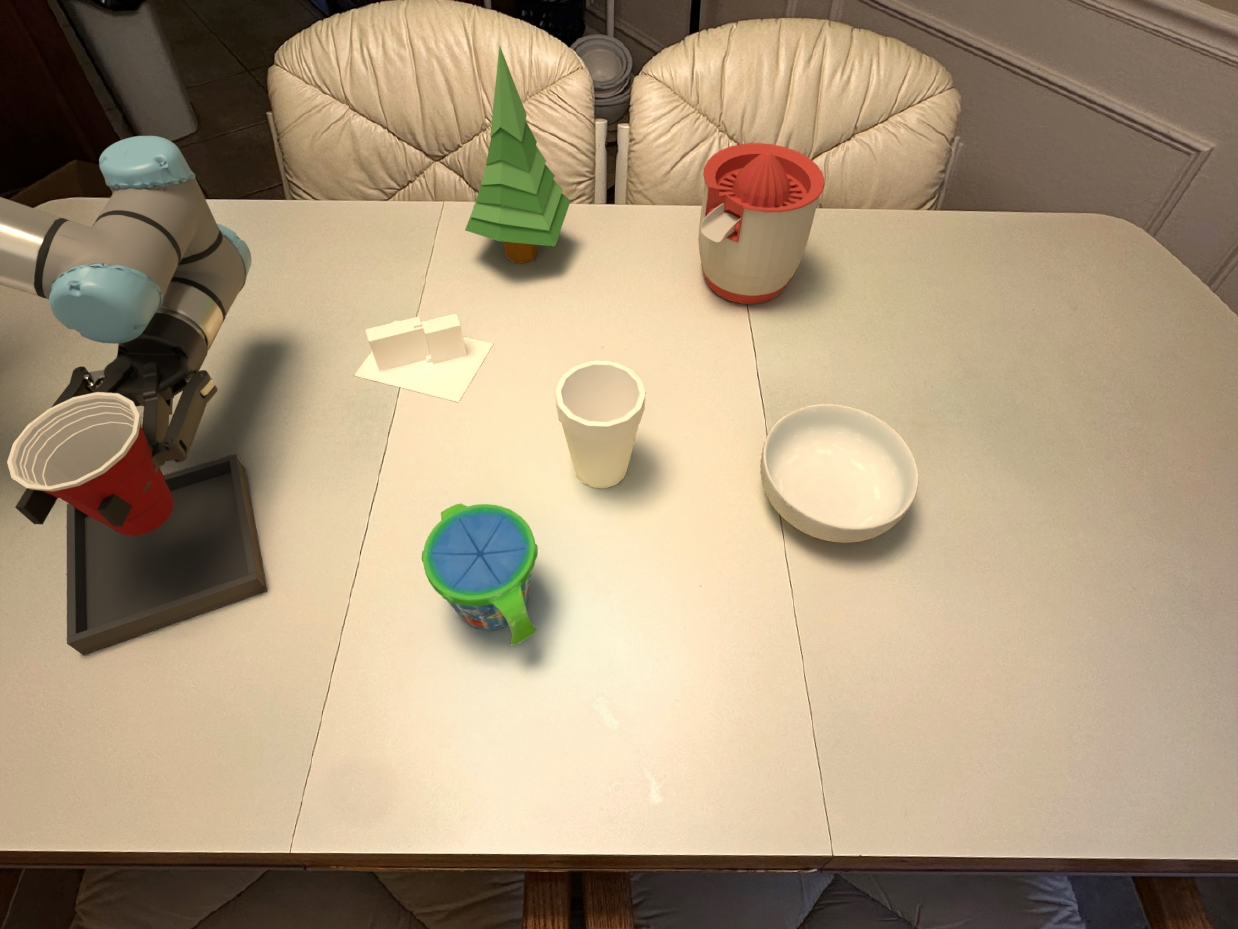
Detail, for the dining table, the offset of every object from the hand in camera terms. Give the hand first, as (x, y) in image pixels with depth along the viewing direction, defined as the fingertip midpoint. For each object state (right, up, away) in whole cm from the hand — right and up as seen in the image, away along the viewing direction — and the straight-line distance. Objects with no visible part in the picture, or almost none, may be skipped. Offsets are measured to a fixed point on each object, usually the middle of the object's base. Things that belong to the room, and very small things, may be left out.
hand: (69, 516), depth 65 cm
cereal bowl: (+72, +1, +21) cm, 75 cm away
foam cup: (+46, +4, +23) cm, 52 cm away
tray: (0, -5, +15) cm, 16 cm away
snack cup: (+35, -10, +12) cm, 38 cm away
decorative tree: (+34, +36, +47) cm, 68 cm away
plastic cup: (+1, 0, +8) cm, 8 cm away
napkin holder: (+23, +18, +33) cm, 44 cm away
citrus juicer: (+66, +31, +44) cm, 85 cm away
